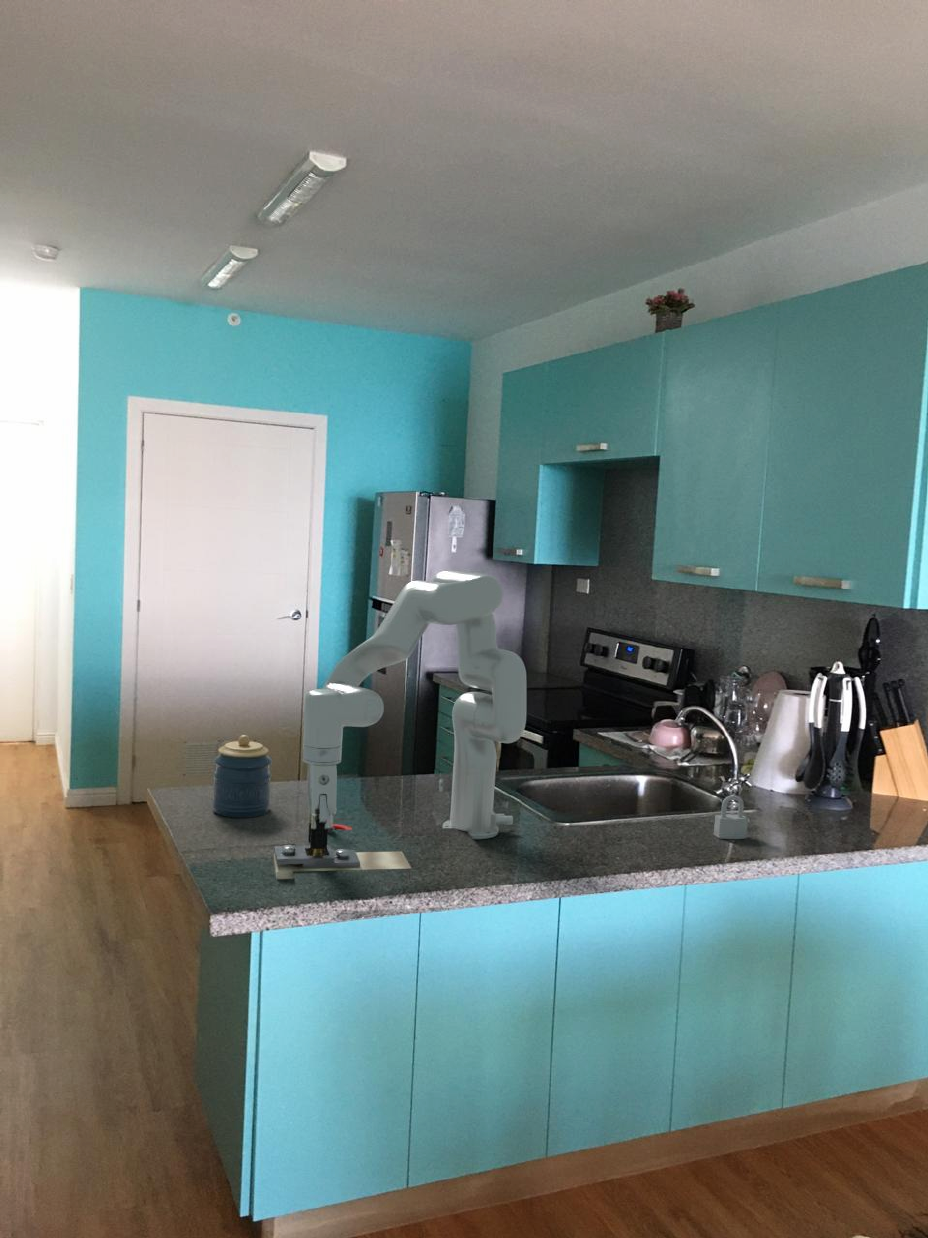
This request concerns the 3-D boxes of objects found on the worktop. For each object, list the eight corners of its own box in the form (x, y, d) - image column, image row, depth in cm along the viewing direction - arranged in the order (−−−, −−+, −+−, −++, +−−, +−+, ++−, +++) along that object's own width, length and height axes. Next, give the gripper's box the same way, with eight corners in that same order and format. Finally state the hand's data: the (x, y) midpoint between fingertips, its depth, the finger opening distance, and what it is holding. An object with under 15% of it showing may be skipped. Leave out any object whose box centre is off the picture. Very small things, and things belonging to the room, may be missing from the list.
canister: (243, 799, 247) (246, 726, 246) (281, 811, 240) (285, 736, 238) (200, 809, 237) (203, 734, 235) (238, 822, 229) (242, 744, 228)
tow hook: (320, 827, 231) (307, 838, 222) (324, 770, 230) (312, 778, 221) (356, 831, 230) (345, 842, 221) (361, 774, 229) (350, 783, 220)
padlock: (719, 840, 239) (723, 797, 238) (712, 834, 243) (715, 793, 242) (747, 839, 241) (751, 798, 240) (739, 834, 245) (743, 793, 244)
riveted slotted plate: (354, 854, 209) (355, 840, 208) (359, 867, 201) (360, 852, 201) (273, 856, 205) (274, 841, 204) (276, 869, 197) (277, 854, 197)
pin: (323, 855, 204) (325, 806, 203) (324, 860, 202) (327, 810, 201) (308, 855, 204) (311, 806, 203) (310, 860, 201) (312, 810, 200)
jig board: (401, 858, 212) (402, 851, 212) (411, 875, 203) (411, 868, 203) (273, 861, 206) (273, 854, 206) (276, 879, 196) (276, 871, 196)
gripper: (347, 764, 194) (342, 859, 196) (336, 743, 209) (331, 832, 211) (306, 764, 192) (302, 860, 194) (298, 743, 208) (294, 832, 209)
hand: (317, 844), depth 203 cm, fingers closed on pin, 2 cm apart
